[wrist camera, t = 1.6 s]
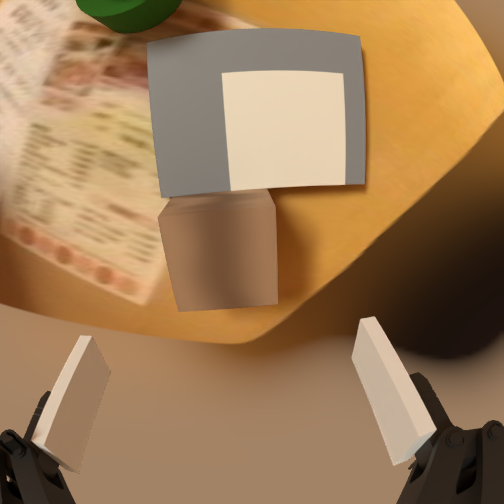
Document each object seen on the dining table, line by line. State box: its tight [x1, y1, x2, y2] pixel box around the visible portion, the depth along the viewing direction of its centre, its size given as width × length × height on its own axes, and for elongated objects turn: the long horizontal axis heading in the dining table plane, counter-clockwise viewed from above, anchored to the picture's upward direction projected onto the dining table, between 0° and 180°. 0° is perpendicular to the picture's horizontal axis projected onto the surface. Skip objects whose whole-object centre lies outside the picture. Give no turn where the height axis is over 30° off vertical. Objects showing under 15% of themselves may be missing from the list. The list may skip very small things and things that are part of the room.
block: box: [158, 188, 278, 312], centre depth 24 cm, size 8×8×7 cm
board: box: [147, 28, 366, 198], centre depth 21 cm, size 18×14×2 cm
